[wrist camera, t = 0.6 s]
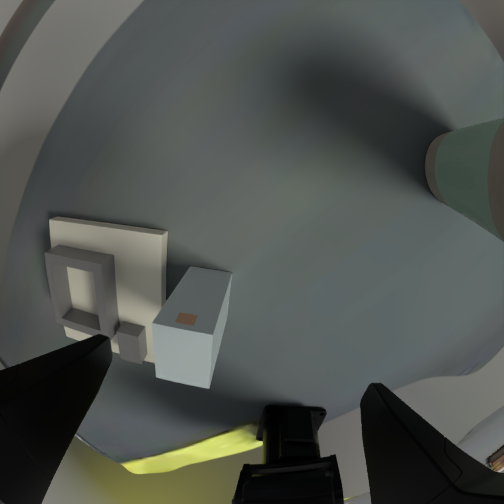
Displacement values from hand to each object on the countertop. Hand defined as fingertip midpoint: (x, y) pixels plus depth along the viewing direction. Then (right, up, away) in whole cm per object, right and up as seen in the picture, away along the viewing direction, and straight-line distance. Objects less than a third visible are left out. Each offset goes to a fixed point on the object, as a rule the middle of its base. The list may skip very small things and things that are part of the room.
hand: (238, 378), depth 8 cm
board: (-12, +1, +14) cm, 18 cm away
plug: (-3, +1, +13) cm, 14 cm away
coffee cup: (+16, +11, +9) cm, 21 cm away
